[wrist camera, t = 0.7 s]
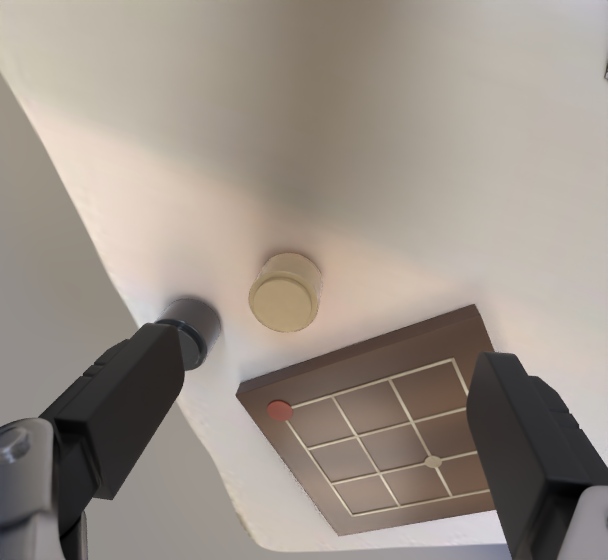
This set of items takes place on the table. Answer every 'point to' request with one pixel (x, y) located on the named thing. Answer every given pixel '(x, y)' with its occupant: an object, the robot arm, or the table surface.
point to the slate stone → (192, 329)
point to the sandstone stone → (286, 293)
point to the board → (381, 425)
